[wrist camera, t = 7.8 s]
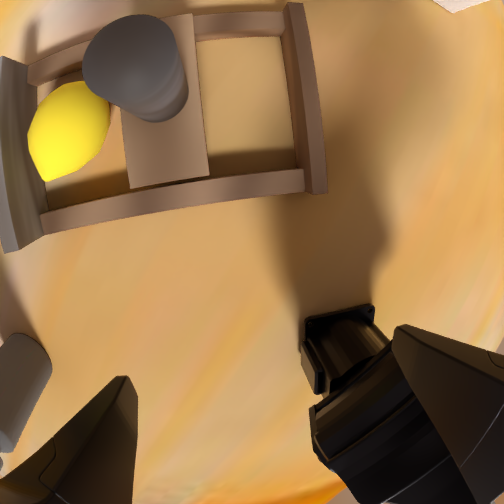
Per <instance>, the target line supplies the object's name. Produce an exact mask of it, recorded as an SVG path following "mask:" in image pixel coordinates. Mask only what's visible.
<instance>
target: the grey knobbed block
mask: <svg viewBox="0 0 504 504" xmlns="http://www.w3.org/2000/svg"><path fill="white" fill-rule="evenodd" d="M82 74H83V79H84V81H85V83H86V85H87V87H88V88H89V89H90V90H91V91H92V92H93V93H94V94H96V95H97V96H99V97H101V98H103V99H105V100H107V101H109V102H111V103H112V104H114V105H116V106H118V107H120V111H121V122H122V131H123V140H124V149H125V156H126V164H127V171H128V177H129V184H130V189H133V188H138V187H143V186H148V185H153V184H159V183H164V182H170V181H176V180H182V179H188V178H194V177H201V176H208V175H209V164H208V156H207V148H206V139H205V131H204V122H203V113H202V104H201V95H200V86H199V76H198V66H197V55H196V44H195V35H194V25H193V15H192V13H189V14H183V15H176V16H170V17H165V18H159V19H158V18H156V17H153V16H149V15H131V16H126V17H123V18H120V19H118V20H115V21H113V22H112V23H110V24H108V25H107V26H105V27H104V28H103V29H102V30H100V31H99V32H98V33H97V34H96V35H95V37H94V38H93V39H92V40H91V42H90V44H89V45H88V47H87V49H86V51H85V54H84V57H83V61H82Z"/></svg>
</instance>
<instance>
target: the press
mask: <svg viewBox="0 0 504 504" xmlns="http://www.w3.org/2000/svg"><path fill="white" fill-rule="evenodd" d="M193 25H194V35H195V42H197V41H206V40H215V39H226V38H240V37H269V36H280V37H281V44H282V50H283V57H284V64H285V71H286V78H287V85H288V93H289V101H290V109H291V118H292V126H293V135H294V145H295V155H296V165H297V168H293V169H282V170H272V171H262V172H254V173H245V174H237V175H229V176H222V177H215V178H208V179H201V180H195V181H188V182H182V183H176V184H170V185H164V186H159V187H153V188H148V189H143V190H138V191H133V192H128V193H123V194H118V195H113V196H109V197H104V198H100V199H95V200H91V201H87V202H83V203H78V204H74V205H70V206H66V207H62V208H59V209H55V210H51V211H49V207H48V202H47V197H46V191H45V185H44V180H42V178H41V176H40V174H39V172H38V170H37V168H36V166H35V164H34V162H33V160H32V157H31V155H30V152H29V147H28V137H27V133H28V131H29V128H30V125H31V123H32V120H33V118H34V115H35V113H36V111H37V86H39V85H41V84H44V83H46V82H48V81H51V80H53V79H56V78H58V77H61V76H63V75H66V74H68V73H71V72H74V71H77V70H79V69H82V61H83V57H84V54H85V51H86V49H87V47H88V45H89V44H90V42H91V40H89V41H86V42H83V43H80V44H77V45H75V46H72V47H70V48H67V49H64V50H62V51H60V52H57V53H55V54H52V55H50V56H48V57H46V58H43V59H41V60H39V61H37V62H35V63H33V64H31V65H29V66H27V65H24V64H22V63H20V62H17V61H15V60H12V59H10V58H7V57H5V56H1V57H0V240H1V244H2V247H3V251H4V254H5V253H9V252H14V251H18V250H20V249H22V248H23V247H25V246H27V245H28V244H30V243H32V242H34V241H35V240H37V239H39V238H40V237H42V236H44V235H48V234H52V233H56V232H61V231H65V230H69V229H74V228H79V227H83V226H88V225H93V224H98V223H103V222H108V221H113V220H118V219H123V218H128V217H134V216H139V215H144V214H150V213H156V212H162V211H167V210H173V209H180V208H186V207H192V206H198V205H205V204H212V203H219V202H226V201H233V200H240V199H248V198H255V197H263V196H272V195H280V194H289V193H298V192H307V193H310V194H312V195H314V194H324V193H328V185H327V171H326V159H325V148H324V137H323V127H322V118H321V110H320V102H319V94H318V87H317V80H316V73H315V66H314V60H313V54H312V48H311V42H310V36H309V31H308V26H307V21H306V16H305V11H304V6H303V3H292V2H288V3H287V5H286V6H285V8H284V10H283V12H278V11H252V12H229V13H216V14H206V15H197V16H193Z"/></svg>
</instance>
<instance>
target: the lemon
mask: <svg viewBox="0 0 504 504" xmlns="http://www.w3.org/2000/svg"><path fill="white" fill-rule="evenodd" d="M109 126H110V107H109V104H108V101H107V100H105V99H103V98H101V97H99V96H97V95H96V94H94V93H93V92H92V91H91V90H90V89H89V88H88V87H87V85H86V83H85V81H77V82H72V83H67V84H63V85H62V86H60V87H59V88H57V89H56V90H54V91H53V92H52V93H50V94H49V95H48V96H47V97H46V98H45V99H44V100H43V101H42V102H41V103H40V104H39V106H38V108H37V111H36V113H35V115H34V118H33V120H32V123H31V125H30V128H29V131H28V133H27V137H28V147H29V152H30V155H31V157H32V160H33V162H34V164H35V166H36V168H37V170H38V172H39V174H40V176H41V178H42V180H44V181H46V182H48V181H51V180H53V179H56V178H59V177H61V176H64V175H67V174H70V173H73V172H76V171H77V170H79V169H80V168H81V167H82V166H84V165H85V164H86V163H88V162H89V161H90V160H91V159H92V158H93V157H94V156H95V155H97V154H98V153H99V152H100V149H101V147H102V145H103V142H104V140H105V138H106V135H107V132H108V129H109Z"/></svg>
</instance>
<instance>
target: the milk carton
mask: <svg viewBox="0 0 504 504" xmlns="http://www.w3.org/2000/svg"><path fill="white" fill-rule="evenodd" d="M433 1H435V2H436V3H438V4H439V5H441V6H442V7H444V8H445V9H447V10H448V11H449V12H451V13H455V12H457V11H460V10H463V9H465V8H468V7H471V6H474V5H477V4H480V3H482V2H486V1H489V0H433Z"/></svg>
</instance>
